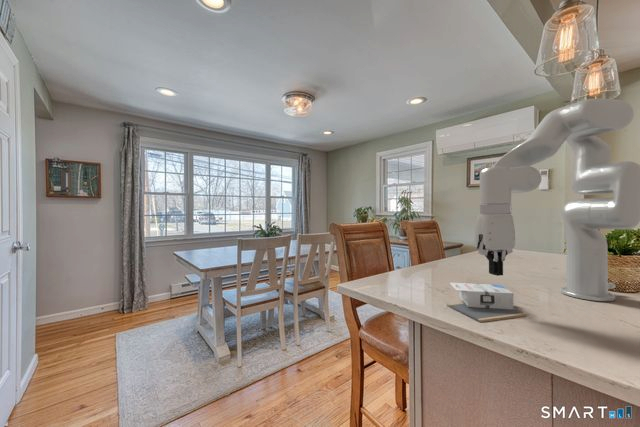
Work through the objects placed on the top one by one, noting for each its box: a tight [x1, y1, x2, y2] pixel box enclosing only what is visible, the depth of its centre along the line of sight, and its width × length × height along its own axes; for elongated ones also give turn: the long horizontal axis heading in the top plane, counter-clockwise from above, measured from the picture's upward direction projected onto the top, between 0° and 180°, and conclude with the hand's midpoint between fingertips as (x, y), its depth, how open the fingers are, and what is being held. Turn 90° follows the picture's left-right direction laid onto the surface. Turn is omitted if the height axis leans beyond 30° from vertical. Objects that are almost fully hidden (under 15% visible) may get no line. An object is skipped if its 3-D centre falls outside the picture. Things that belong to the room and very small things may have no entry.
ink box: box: [449, 282, 514, 310], centre depth 80 cm, size 9×5×15 cm
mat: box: [446, 302, 527, 323], centre depth 76 cm, size 15×12×1 cm
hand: (495, 274), depth 77 cm, fingers closed
